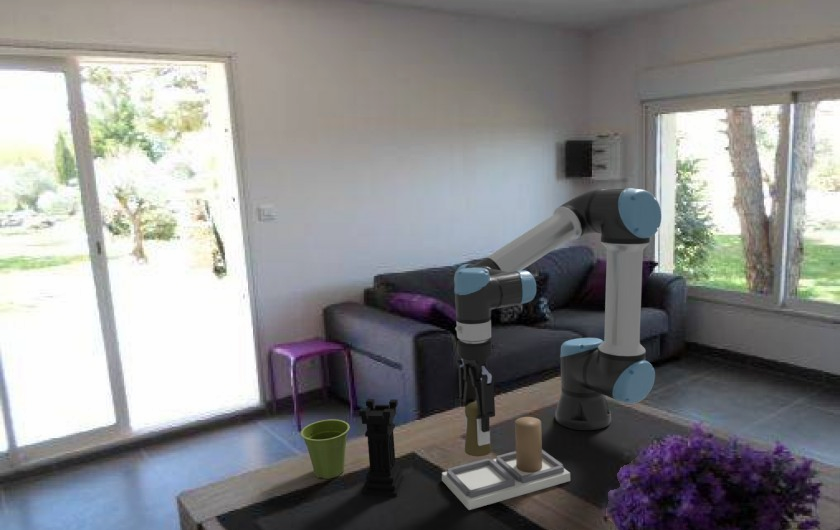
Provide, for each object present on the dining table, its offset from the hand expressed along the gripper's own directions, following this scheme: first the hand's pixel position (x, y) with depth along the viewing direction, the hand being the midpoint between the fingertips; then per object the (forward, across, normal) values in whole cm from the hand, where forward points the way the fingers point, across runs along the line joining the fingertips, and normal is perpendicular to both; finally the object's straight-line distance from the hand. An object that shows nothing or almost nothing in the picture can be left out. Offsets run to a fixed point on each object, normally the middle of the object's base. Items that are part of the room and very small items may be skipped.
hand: (477, 438), depth 138 cm
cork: (+3, 0, 0) cm, 3 cm away
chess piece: (+12, -11, -19) cm, 25 cm away
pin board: (+12, 0, +7) cm, 14 cm away
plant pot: (+12, -24, -29) cm, 40 cm away
